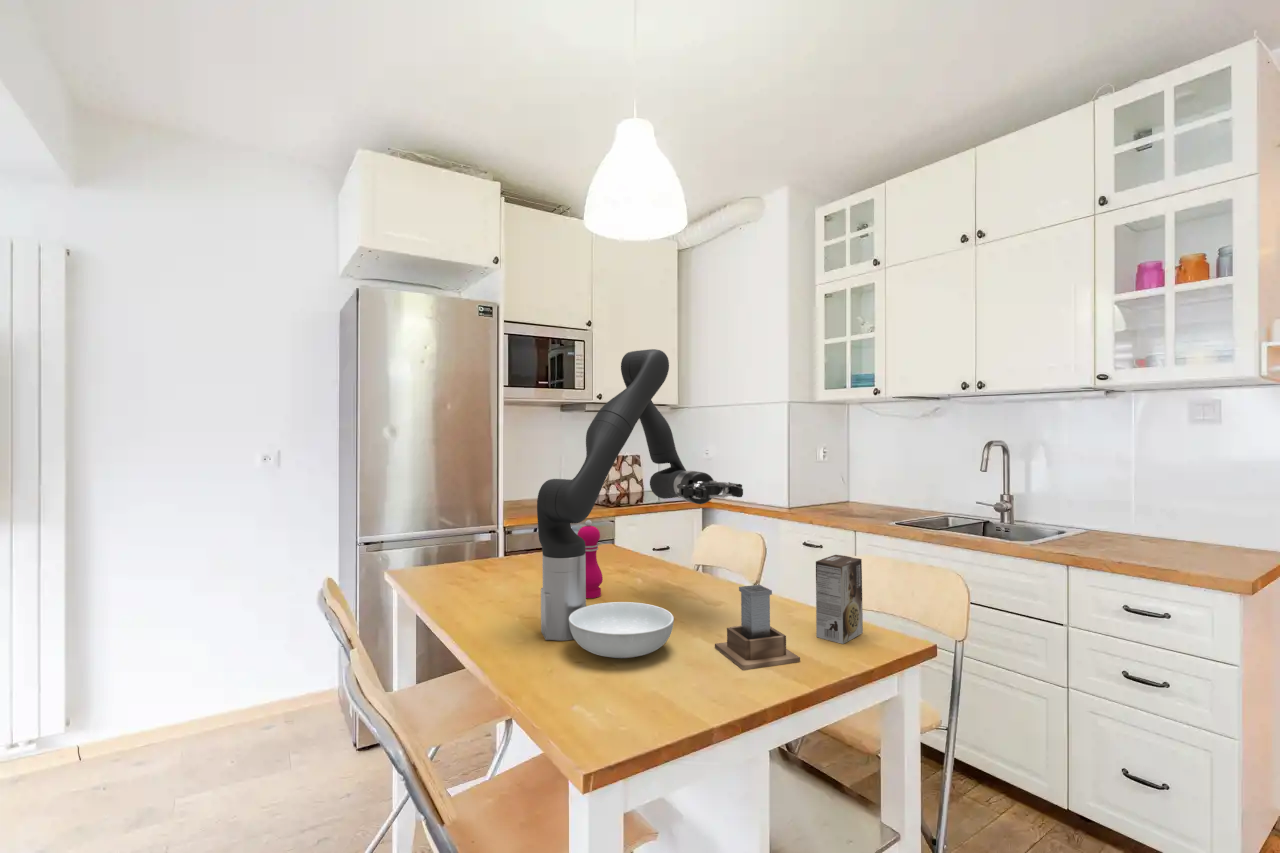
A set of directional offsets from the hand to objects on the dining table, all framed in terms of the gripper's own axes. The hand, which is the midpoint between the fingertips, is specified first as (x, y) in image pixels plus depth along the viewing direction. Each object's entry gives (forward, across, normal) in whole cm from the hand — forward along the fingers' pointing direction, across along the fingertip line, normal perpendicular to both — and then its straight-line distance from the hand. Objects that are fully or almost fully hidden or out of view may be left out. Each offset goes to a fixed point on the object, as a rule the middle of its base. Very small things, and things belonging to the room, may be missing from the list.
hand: (723, 493), depth 132 cm
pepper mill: (-38, -21, +30) cm, 53 cm away
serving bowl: (+3, -24, +30) cm, 39 cm away
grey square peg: (+14, 0, +29) cm, 32 cm away
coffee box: (+10, +22, +30) cm, 39 cm away
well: (+14, 0, +30) cm, 33 cm away
